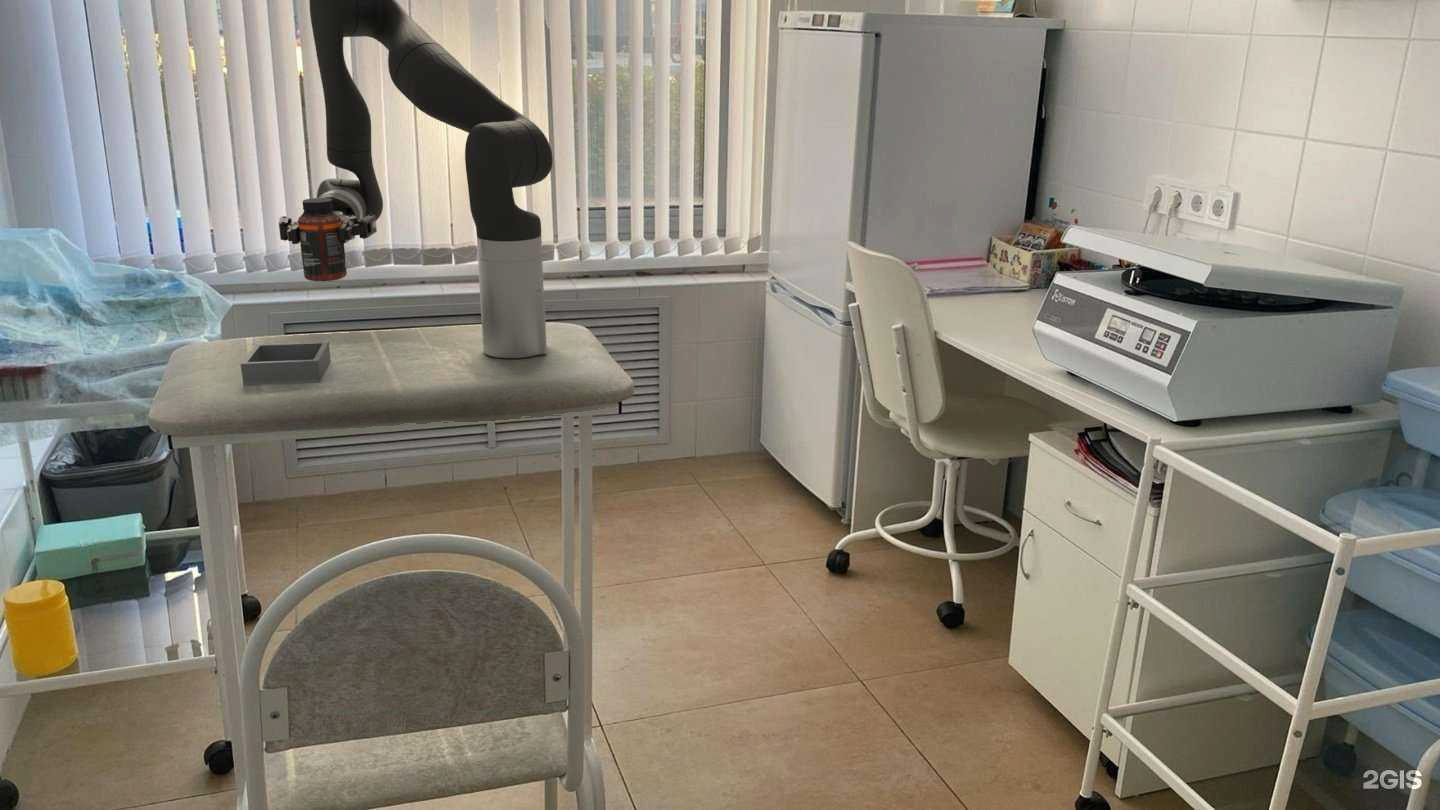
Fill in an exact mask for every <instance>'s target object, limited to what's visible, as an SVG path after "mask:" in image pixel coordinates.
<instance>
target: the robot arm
mask: <svg viewBox="0 0 1440 810" xmlns="http://www.w3.org/2000/svg"><path fill="white" fill-rule="evenodd" d="M308 1H309V15H310V17H309V18H310V22H311V28H312V33H313V40H314V46H315V52H316V58H317V64H318V70H319V75H320V79H321V80H320V81H321V85H322V91H323V99H324V100H323V101H324V107H325V109H324V110H325V130H326V131H325V133H326V135H325V136H326V158H327V160H328V162H329V164H331V165H332V166H335V167H337V168H339V169H343V170H346V171H348V172H351V173H353V174H354V175H355V177H356V178H357V179H358V180H357V179H344V178H327V179H325V180H323V181H321V183H320V184H319V186H318V188H317V193H316V198H330V199H332V204H333V208H332V209H333V211H334V212H335V213H336V214H338V215H339V216H340V218H341V223H342V225H341V226H340V227H339V234H340V242H341V243H344V245H345V244H346V243H348V242H349V241H350V240H351V241H352V240H355V238H356V236H359V239H363V240H364V239H367V238H369V237H371V236H372V235H374V234H375V233H377V231H378V230H377V221H378V219H379V218H380V217H381V215H382V213H383V211H384V210H383V208H384V200H383V195H382V192H381V189H380V185H379V182H378V180H377V175H376V173H375V169H374V164H373V163H374V162H373V156H372V120H371V115H370V111H369V107H368V104H367V103H366V101H365V99H364V97H363V95H362V93H361V91H360V90H359V88H358V87H357V85H356V83H355V81H354V79H353V78H352V76H351V73H350V71H349V69H348V67H347V64H346V60H345V55H344V38H353V37H354V38H356V37H362V38H363V37H367V38H368V37H369V38H372V39H375V41H378V42H379V44H381V45H383V46H384V48H386V50H388V55H387V56H388V58H387V60H388V61H387V65H388V66H387V67H388V72H389V76H390V79H391V81H392V83H393V85H394V86H395V87H396V88H397V90H398V91H399V92H400V93H401V94H402V95H403V96H404V97H405V98H406V99H407V100H408V101H409V102H410V103H411V104H412V105H413V106H415V107H416V108H417V109H418V110H420V111H421V112H423V113H424V114H425V115H427V116H429V117H431V118H433V119H435V120H438V121H439V122H441V123H444V124H445V125H446V124H447V125H449V126H451V127H453V128H456V129H459V130H461V131H463V132H466V133H468V135H467V137H466V141H465V147H464V148H465V149H464V162H465V171H466V180H467V191H468V199H469V209H470V214H471V216H472V220H473V222H474V225H475V229H476V230H475V233H476V247H477V264H478V265H477V266H478V281H479V299H480V315H481V329H482V330H481V332H482V333H481V335H482V337H481V339H482V347H483V354H485V355H487V356H489V357H492V358H498V359H499V358H500V359H522V358H528V357H534V356H538V355H547V353H548V352H547V329H546V303H545V301H546V298H545V288H544V286H545V285H544V272H543V270H544V269H543V268H544V267H543V264H544V263H543V248H542V245H543V243H542V240H543V239H542V221H541V218H540V216H539V215H538V214H536V213H535V212H532V211H527V210H524V209H522V208H520V207H519V206H518V205H517V204H516V202H515V198H514V191H513V188H522V187H527V186H528V187H529V186H532V185H536V184H537V183H541V182H542V181H543V180H544V179H546V178H547V177H548V176H549V174H550V173H551V171H552V167H553V159H554V158H553V151H552V148H551V146H550V143H549V140H548V138H547V136H546V135H545V134H544V132H543V131H542V130H541V128H540V127H539V126H538V125H537V124H536V123H534V122H533V121H531V119H529V118H528V117H527V116H525V115H524V114H522V113H521V112H519V111H518V110H517V109H515V108H513V107H512V106H510V105H509V104H507V103H506V102H505V101H503V100H502V99H500V98H499V97H498V96H497V95H496V94H494V92H492V91H491V90H490V89H489V88H488V87H486V86H485V84H484V83H482V82H481V81H480V80H479V79H477V77H475V76H474V75H473V74H472V73H471V72H470V71H468V70H467V69H466V68H465V67H464V66H463V65H462V64H461V63H460V62H459V60H457V59H456V57H454V56H453V55H452V54H450V52H449V51H447V50H446V49H445V47H443V46H442V45H441V44H440V43H438V42H437V41H436V40H435V39H433V38H432V37H431V35H429V34H428V33H427V32H426V31H425V30H424V29H423V28H422V27H421V26H420V25H419V24H418V23H417V22H416V21H415V20H414V19H413V18H412V17H411V16H410V15H409V14H408V13H407V12H406V11H405V10H404V8H403V7H402V6H401V5H400V3H399V2H398V1H397V0H308ZM292 220H293V218H292V217H288V216H286V215H283V216H280V217H279V220H278V229H279V238H280V241H283V242H285V241H288V242H291V244H292V245H299V244H300V238H299V229H298V220H297V221H292Z"/></svg>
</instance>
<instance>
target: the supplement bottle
mask: <svg viewBox="0 0 1440 810" xmlns="http://www.w3.org/2000/svg"><path fill="white" fill-rule="evenodd" d="M332 208H333V204H332V199H330V198H317V197H313V198H305V199H303V200H302V209H303V212H302V214H300V216H299V217H298V219H297V221H298V229H299V238H300V242H299V244H300V245H299V246H300V253H301V261H302V268H303V269H302V270H303V277H304V278H305V279H306V280H309V281H310V282H311V281H312V282H331V281H337V280H341V279H343V278H346V276H347V273H348V271H347V268H348V267H347V262H346V251H345V250H346V249H345V244H344V243H341V242H340V234H339V227H340V226H341V225H342V223H341V218H340V216H339V215H338V214H336V213H335V212H334V211H333V209H332Z"/></svg>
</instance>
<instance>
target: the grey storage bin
mask: <svg viewBox="0 0 1440 810" xmlns="http://www.w3.org/2000/svg"><path fill="white" fill-rule="evenodd" d="M330 348H331V347H330V341H316V342H315V341H313V342H288V343H287V342H286V343H257V344H255V345H254V346H253V347H252V348H251V350H250V351H249V352H248V354H246V356H245V358H244V359H243V360H242V361H241V363H240V369H241V378H242V379H241V380H242V385H243V386H255V385H256V386H258V385H259V386H260V385H264V386H265V385H283V384H286V385H287V384H302V383H303V384H304V383H305V384H306V383H308V384H309V383H310V384H311V383H321V382H322V380H323V378H324V376H325V374H326V372H327V371H328V369H329V367H330V364H331V363H332V359H331V352H330V350H331V349H330Z"/></svg>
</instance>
